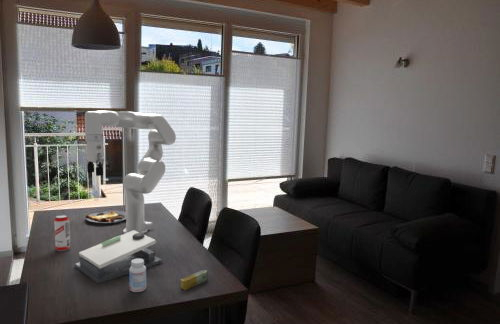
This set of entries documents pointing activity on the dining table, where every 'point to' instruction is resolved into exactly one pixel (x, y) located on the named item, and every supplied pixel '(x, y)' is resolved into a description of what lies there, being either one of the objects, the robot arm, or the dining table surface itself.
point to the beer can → (62, 233)
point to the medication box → (194, 279)
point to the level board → (116, 248)
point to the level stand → (117, 266)
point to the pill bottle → (137, 275)
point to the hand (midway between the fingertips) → (95, 173)
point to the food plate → (106, 217)
